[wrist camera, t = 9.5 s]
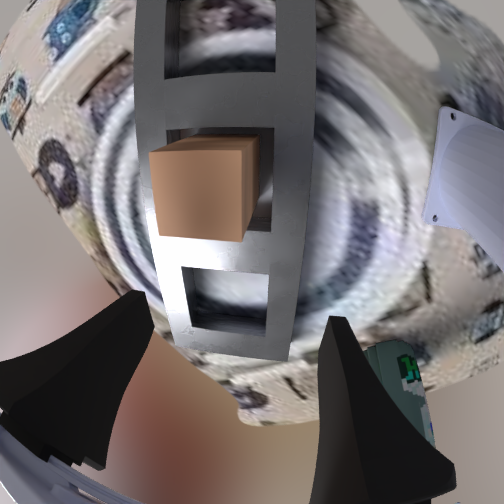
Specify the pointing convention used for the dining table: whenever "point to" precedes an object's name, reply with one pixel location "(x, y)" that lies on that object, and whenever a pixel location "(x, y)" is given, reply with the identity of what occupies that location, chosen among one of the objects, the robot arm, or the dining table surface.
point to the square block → (206, 186)
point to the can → (402, 382)
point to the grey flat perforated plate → (284, 172)
